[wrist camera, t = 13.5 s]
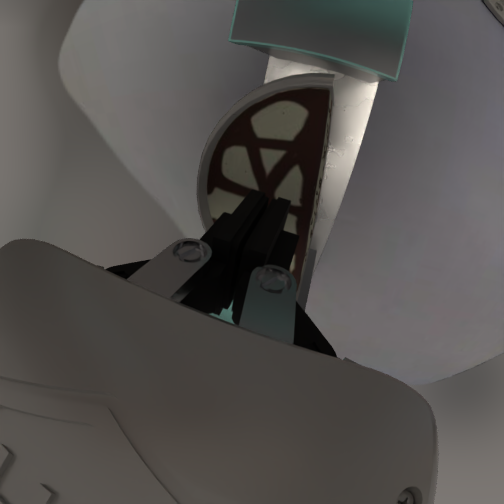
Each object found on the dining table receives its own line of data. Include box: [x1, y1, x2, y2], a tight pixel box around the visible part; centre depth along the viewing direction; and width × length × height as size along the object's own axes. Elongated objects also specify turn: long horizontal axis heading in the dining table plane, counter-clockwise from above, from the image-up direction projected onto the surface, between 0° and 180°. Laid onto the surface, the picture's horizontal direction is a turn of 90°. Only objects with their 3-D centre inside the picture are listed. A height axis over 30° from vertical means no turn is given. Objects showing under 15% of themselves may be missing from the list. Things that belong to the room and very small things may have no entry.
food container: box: [197, 73, 335, 301], centre depth 16 cm, size 12×6×10 cm, turn 176°
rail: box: [264, 56, 378, 276], centre depth 21 cm, size 8×23×2 cm, turn 169°
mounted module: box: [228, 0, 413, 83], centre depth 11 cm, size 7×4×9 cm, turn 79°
